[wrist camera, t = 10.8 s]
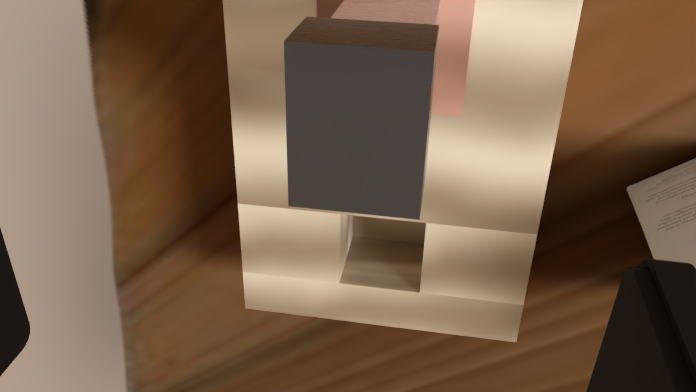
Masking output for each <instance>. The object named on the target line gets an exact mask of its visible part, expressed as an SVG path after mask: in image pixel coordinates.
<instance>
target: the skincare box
mask: <svg viewBox="0 0 696 392" xmlns="http://www.w3.org/2000/svg"><path fill="white" fill-rule="evenodd" d="M627 192H628V195H629V197H630V199H631V202H632V204H633V207H634V209H635V212H636V214H637V217H638V219H639V222H640V224H641V227H642V229H643V232H644V234H645V237H646V240H647V242H648V245H649V248H650V250H651V253H652V256H653V258H654V259H657V260H666V261H674V262H683V263H690V264H692V265H693V266H694V267H695V268H696V158H695V159H692V160H690V161H688V162H685V163H683V164H681V165H678V166H676V167H673V168H671V169H669V170H666V171H664V172H661V173H659V174H657V175H654V176H652V177H650V178H647V179H645V180H642V181H640V182H638V183H635V184H633V185H630V186H628V187H627Z"/></svg>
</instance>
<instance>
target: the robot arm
mask: <svg viewBox="0 0 696 392" xmlns="http://www.w3.org/2000/svg"><path fill="white" fill-rule="evenodd" d="M29 334H30V325H29V321H28V317H27V314H26V311H25V307H24V304H23V301H22V298H21V294H20V291H19V288H18V285H17V282H16V278H15V275H14V272H13V268H12V265H11V262H10V259H9V255H8V252H7V249H6V245H5V242H4V239H3V235H2V232H1V229H0V376H1V375H2V373H3V372H4V371H5V370H6V369H7V367H8V366H9V365H10V364H11V363H12V361H13V360H14V359H15V358H16V357H17V356H18V354H19V353H20V352H21V351H22V350H23V348H24V347H25V345H26V343H27V341H28V338H29ZM587 392H696V268H695V267H694V266H693V265H692V264H690V263H683V262H674V261H666V260H657V259H648V258H647V259H644V260H643V261H642V262H641V264H640V266H639V268H632V267H629V268H627V269H626V270H625V272H624V275H623V277H622V280H621V284H620V287H619V290H618V293H617V296H616V300H615V303H614V306H613V309H612V312H611V316H610V319H609V322H608V325H607V328H606V332H605V335H604V338H603V341H602V344H601V348H600V351H599V354H598V357H597V360H596V364H595V367H594V370H593V373H592V376H591V380H590V383H589V386H588V389H587Z"/></svg>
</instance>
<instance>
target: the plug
mask: <svg viewBox="0 0 696 392" xmlns="http://www.w3.org/2000/svg"><path fill="white" fill-rule="evenodd" d="M439 7H440V0H344V1H343V2H342V4H341V5H340V6H339V8H338V9H337V10H336V11H335V13H334V14H333V15H332V16H331V18H321V17H306V18H305V19H304V20H303V21H302V22H301V23H300V24H299V25H298V26H297V27H296V28H295V29H294V31H293V32H292V33H291V34H290V35H289V36H288V37H287V38H286V39H285V40H284V65H285V101H286V137H287V173H288V206H291V207H300V208H310V209H320V210H329V211H339V212H348V213H358V214H368V215H377V216H387V217H396V218H406V219H416V220H420V213H421V206H422V198H423V191H424V183H425V175H426V164H427V153H428V142H429V131H430V120H431V109H432V98H433V87H434V76H435V65H436V54H437V43H438V32H439V25H438V18H439Z"/></svg>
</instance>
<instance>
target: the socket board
mask: <svg viewBox="0 0 696 392" xmlns="http://www.w3.org/2000/svg"><path fill="white" fill-rule="evenodd" d="M343 1H344V0H223V11H224V25H225V38H226V52H227V65H228V79H229V92H230V106H231V119H232V133H233V146H234V160H235V173H236V187H237V200H238V214H239V227H240V241H241V254H242V268H243V281H244V295H245V308H247V309H255V310H263V311H271V312H279V313H287V314H295V315H303V316H311V317H319V318H327V319H335V320H343V321H351V322H359V323H367V324H375V325H383V326H391V327H399V328H406V329H414V330H422V331H430V332H438V333H446V334H454V335H462V336H470V337H478V338H486V339H494V340H502V341H510V342H516V341H517V335H518V330H519V325H520V320H521V315H522V310H523V305H524V300H525V295H526V290H527V284H528V279H529V274H530V269H531V264H532V259H533V254H534V249H535V244H536V239H537V233H538V228H539V223H540V218H541V213H542V208H543V203H544V198H545V193H546V188H547V182H548V177H549V172H550V167H551V162H552V157H553V152H554V147H555V142H556V137H557V131H558V126H559V121H560V116H561V111H562V106H563V101H564V96H565V91H566V86H567V80H568V75H569V70H570V65H571V60H572V55H573V50H574V45H575V40H576V35H577V29H578V24H579V19H580V14H581V9H582V4H583V0H440V7H439V18H438V25H439V32H438V43H437V54H436V65H435V76H434V87H433V98H432V109H431V120H430V131H429V142H428V153H427V164H426V175H425V183H424V191H423V198H422V206H421V213H420V220H416V219H406V218H396V217H387V216H377V215H368V214H358V213H348V212H339V211H329V210H320V209H310V208H300V207H291V206H288V173H287V137H286V101H285V65H284V40H285V39H286V38H287V37H288V36H289V35H290V34H291V33H292V32H293V31H294V29H295V28H296V27H297V26H298V25H299V24H300V23H301V22H302V21H303V20H304V19H305V18H306V17H321V18H331V16H332V15H333V14H334V13H335V11H336V10H337V9H338V8H339V6H340V5H341V4H342V2H343Z"/></svg>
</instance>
